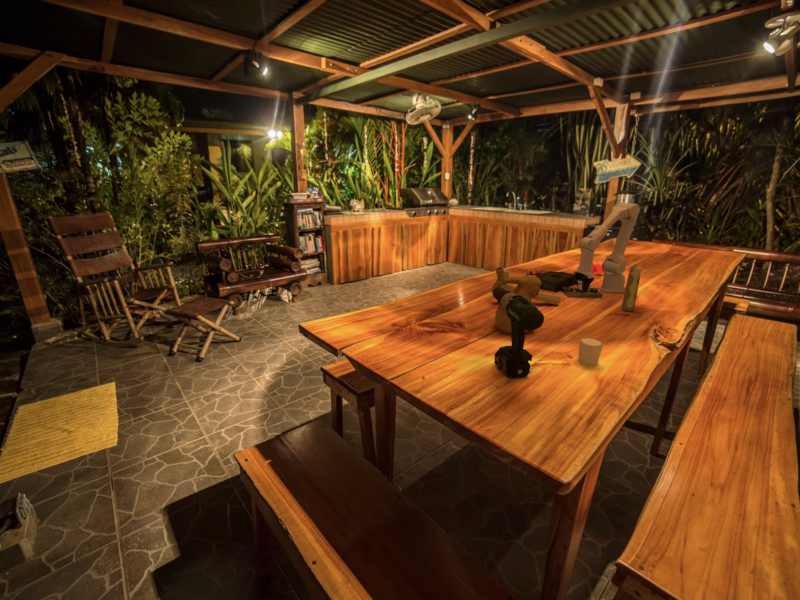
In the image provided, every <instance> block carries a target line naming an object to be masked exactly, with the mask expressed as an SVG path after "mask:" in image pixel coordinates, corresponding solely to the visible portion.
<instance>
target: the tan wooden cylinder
mask: <svg viewBox="0 0 800 600" xmlns="http://www.w3.org/2000/svg"><path fill="white" fill-rule="evenodd" d="M578 341H579V342H578V343H579V344H578V362H579V363H581V364H583V365H586V366H592V367H593V366H597V365H598V363H599V359H600V358H601V357H600V356H601V352H602V350H603V346H604V342H602V341H601V340H599V339H597V338H594V337H581V338H579V340H578Z"/></svg>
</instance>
